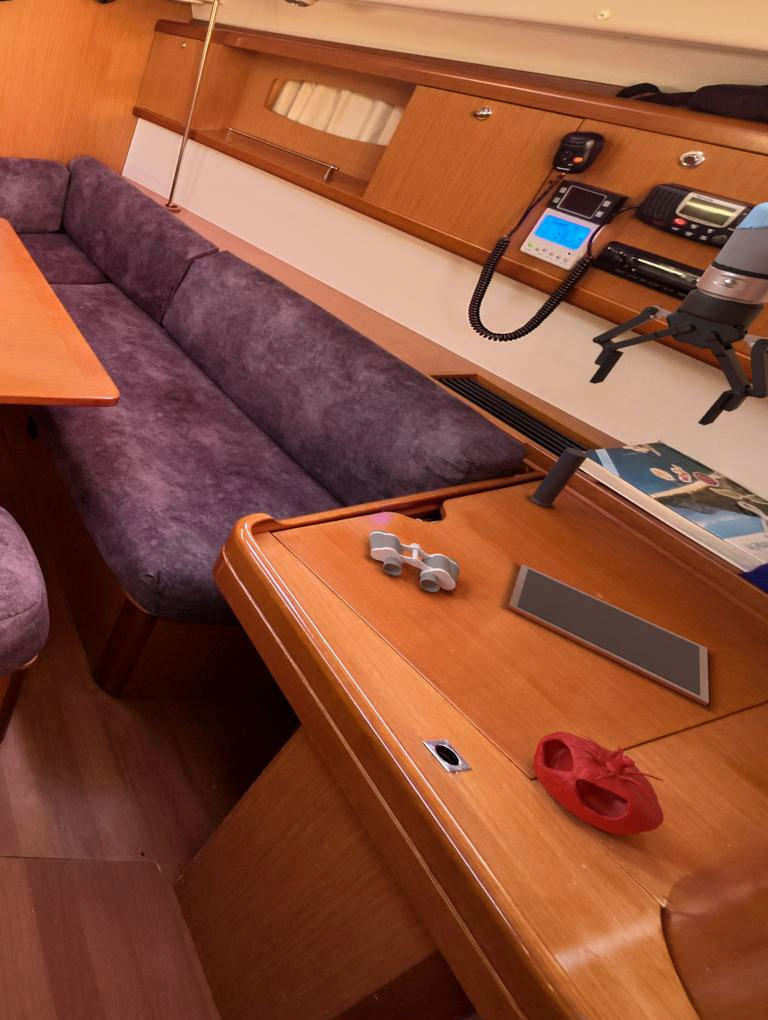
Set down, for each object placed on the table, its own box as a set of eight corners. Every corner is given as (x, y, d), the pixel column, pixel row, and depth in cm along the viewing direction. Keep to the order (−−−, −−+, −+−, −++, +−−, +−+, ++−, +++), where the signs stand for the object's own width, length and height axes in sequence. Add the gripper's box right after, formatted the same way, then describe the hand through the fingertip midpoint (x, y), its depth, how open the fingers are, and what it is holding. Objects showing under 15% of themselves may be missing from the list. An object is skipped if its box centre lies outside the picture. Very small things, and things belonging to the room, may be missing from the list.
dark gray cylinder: (551, 502, 124) (588, 453, 118) (549, 508, 122) (587, 458, 116) (531, 494, 126) (567, 445, 120) (529, 500, 124) (565, 451, 118)
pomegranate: (575, 755, 81) (619, 713, 77) (668, 848, 72) (723, 806, 68) (498, 752, 81) (538, 710, 77) (581, 844, 72) (631, 802, 68)
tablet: (704, 650, 95) (707, 647, 95) (705, 706, 87) (709, 702, 87) (520, 566, 109) (522, 563, 109) (507, 607, 101) (509, 604, 101)
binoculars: (454, 575, 107) (464, 560, 105) (455, 603, 102) (465, 589, 100) (366, 538, 114) (374, 524, 113) (362, 563, 109) (371, 548, 107)
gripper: (610, 270, 112) (544, 369, 122) (848, 332, 91) (746, 446, 100) (634, 266, 114) (567, 364, 124) (872, 326, 93) (769, 438, 103)
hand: (647, 401), depth 112 cm, fingers open, 13 cm apart
